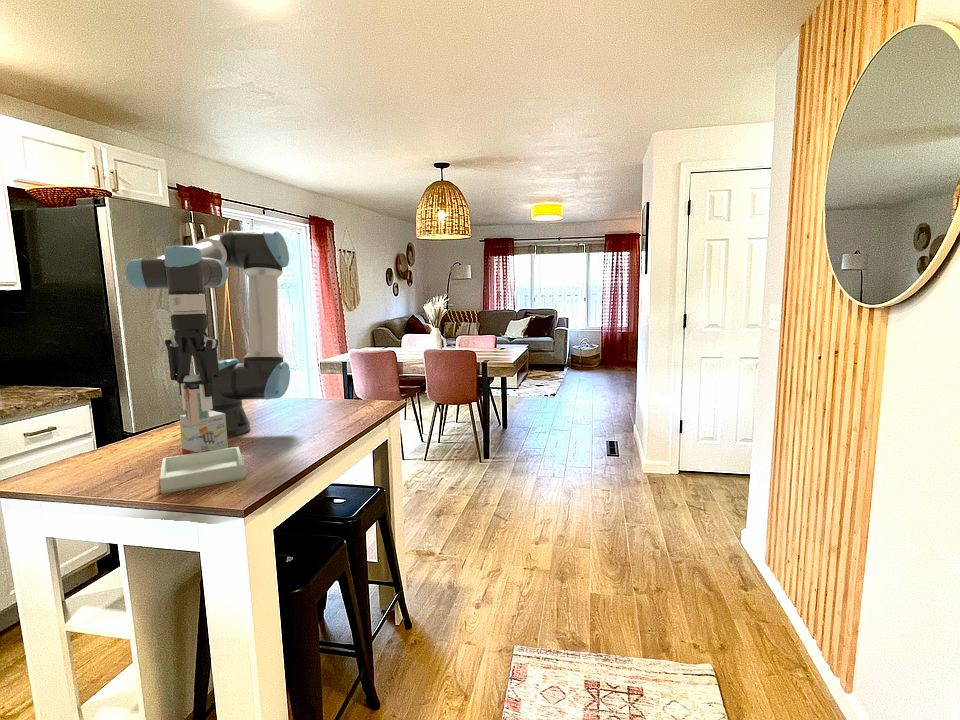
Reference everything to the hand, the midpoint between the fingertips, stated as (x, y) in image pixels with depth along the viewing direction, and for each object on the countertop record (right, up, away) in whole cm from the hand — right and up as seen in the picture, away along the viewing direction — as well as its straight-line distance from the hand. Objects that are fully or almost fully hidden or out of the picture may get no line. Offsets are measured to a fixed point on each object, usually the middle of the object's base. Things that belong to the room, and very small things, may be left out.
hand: (198, 409), depth 127 cm
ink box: (-8, -15, +18) cm, 25 cm away
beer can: (0, -4, 0) cm, 4 cm away
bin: (0, -16, +2) cm, 17 cm away
